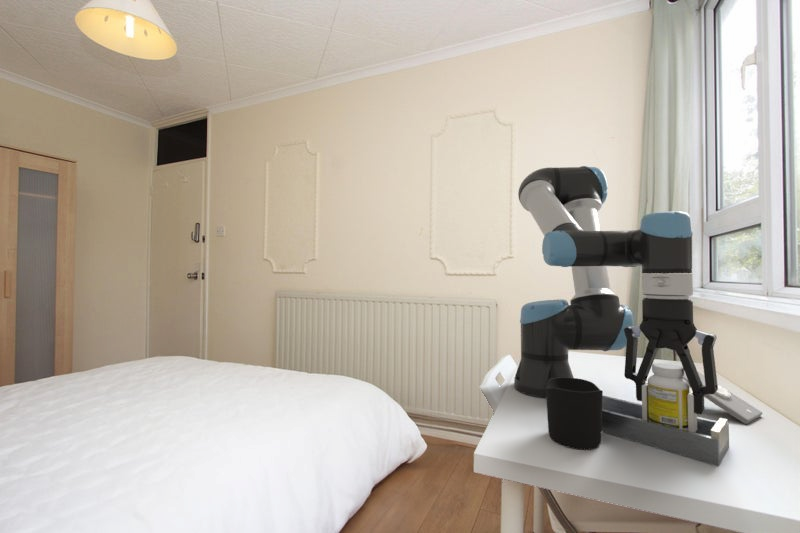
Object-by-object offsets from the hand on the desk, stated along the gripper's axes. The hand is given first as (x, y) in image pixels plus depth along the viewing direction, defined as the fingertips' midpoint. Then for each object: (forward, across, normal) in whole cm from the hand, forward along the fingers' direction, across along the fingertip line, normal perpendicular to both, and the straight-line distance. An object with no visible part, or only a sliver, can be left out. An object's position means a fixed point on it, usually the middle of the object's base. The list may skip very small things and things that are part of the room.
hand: (668, 424), depth 67 cm
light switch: (+3, +3, +26) cm, 26 cm away
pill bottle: (+1, 0, 0) cm, 1 cm away
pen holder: (+3, -12, -12) cm, 17 cm away
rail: (+3, -3, 0) cm, 4 cm away
